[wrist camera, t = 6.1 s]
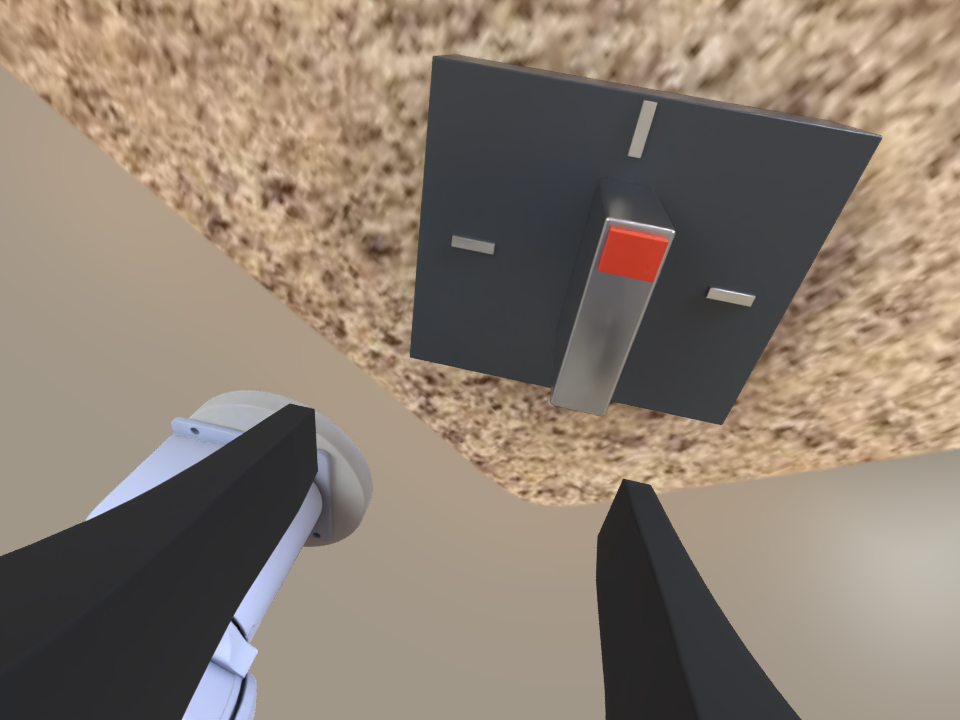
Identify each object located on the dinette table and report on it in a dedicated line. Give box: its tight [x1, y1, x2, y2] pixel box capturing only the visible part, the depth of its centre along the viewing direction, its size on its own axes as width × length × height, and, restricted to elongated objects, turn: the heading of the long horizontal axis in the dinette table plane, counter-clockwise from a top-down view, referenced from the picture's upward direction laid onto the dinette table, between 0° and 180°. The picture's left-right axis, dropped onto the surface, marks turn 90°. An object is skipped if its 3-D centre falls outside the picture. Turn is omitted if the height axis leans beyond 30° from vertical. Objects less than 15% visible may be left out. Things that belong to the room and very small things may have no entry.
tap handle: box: [550, 178, 675, 416], centre depth 14 cm, size 6×2×4 cm, turn 171°
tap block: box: [410, 55, 882, 425], centre depth 17 cm, size 12×10×3 cm
